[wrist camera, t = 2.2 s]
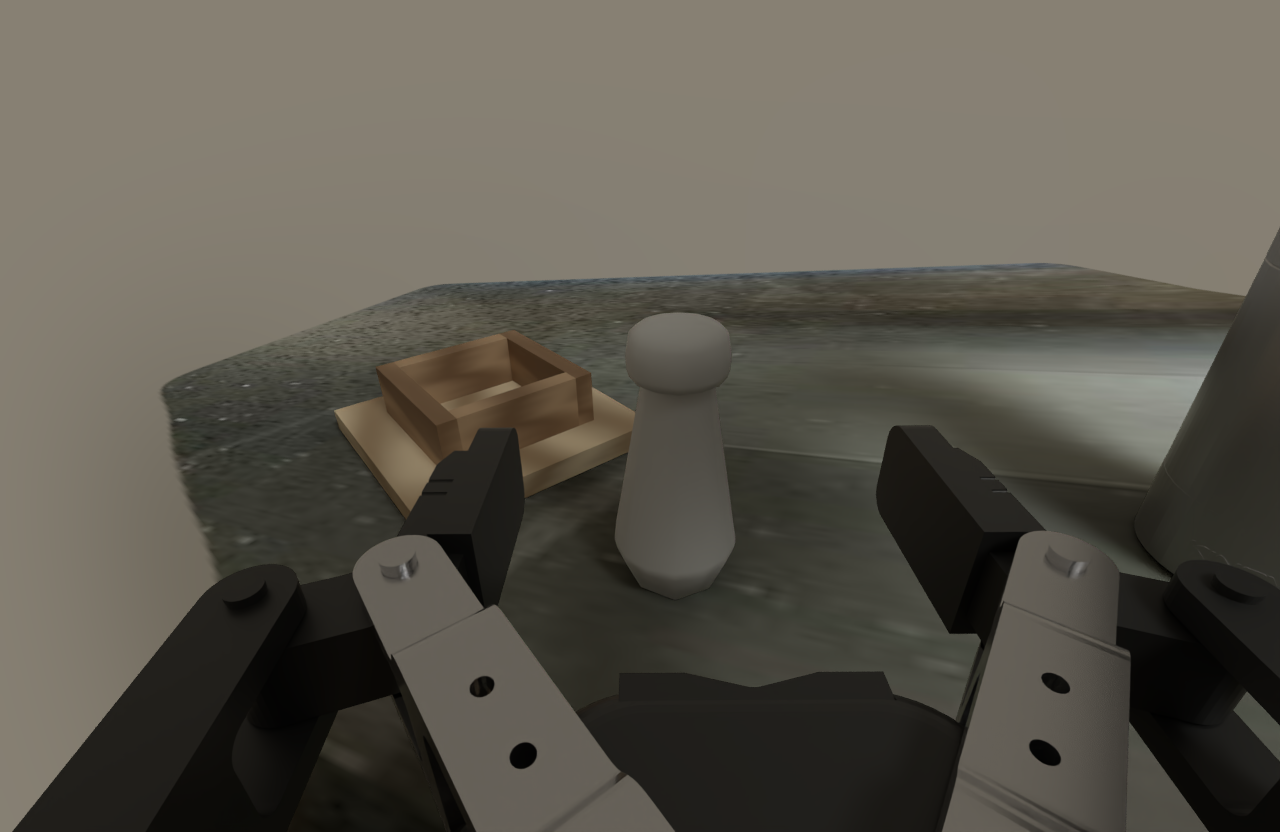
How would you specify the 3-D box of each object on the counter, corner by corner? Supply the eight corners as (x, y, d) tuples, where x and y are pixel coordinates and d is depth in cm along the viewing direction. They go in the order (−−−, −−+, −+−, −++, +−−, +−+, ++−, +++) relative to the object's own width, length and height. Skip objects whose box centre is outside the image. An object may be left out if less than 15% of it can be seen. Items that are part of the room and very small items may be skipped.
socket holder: (533, 368, 51) (527, 312, 49) (652, 441, 40) (651, 374, 38) (339, 428, 42) (320, 365, 40) (423, 543, 31) (403, 465, 29)
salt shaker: (592, 572, 29) (573, 325, 23) (665, 516, 33) (665, 290, 27) (685, 634, 26) (693, 364, 20) (755, 564, 30) (780, 317, 23)
